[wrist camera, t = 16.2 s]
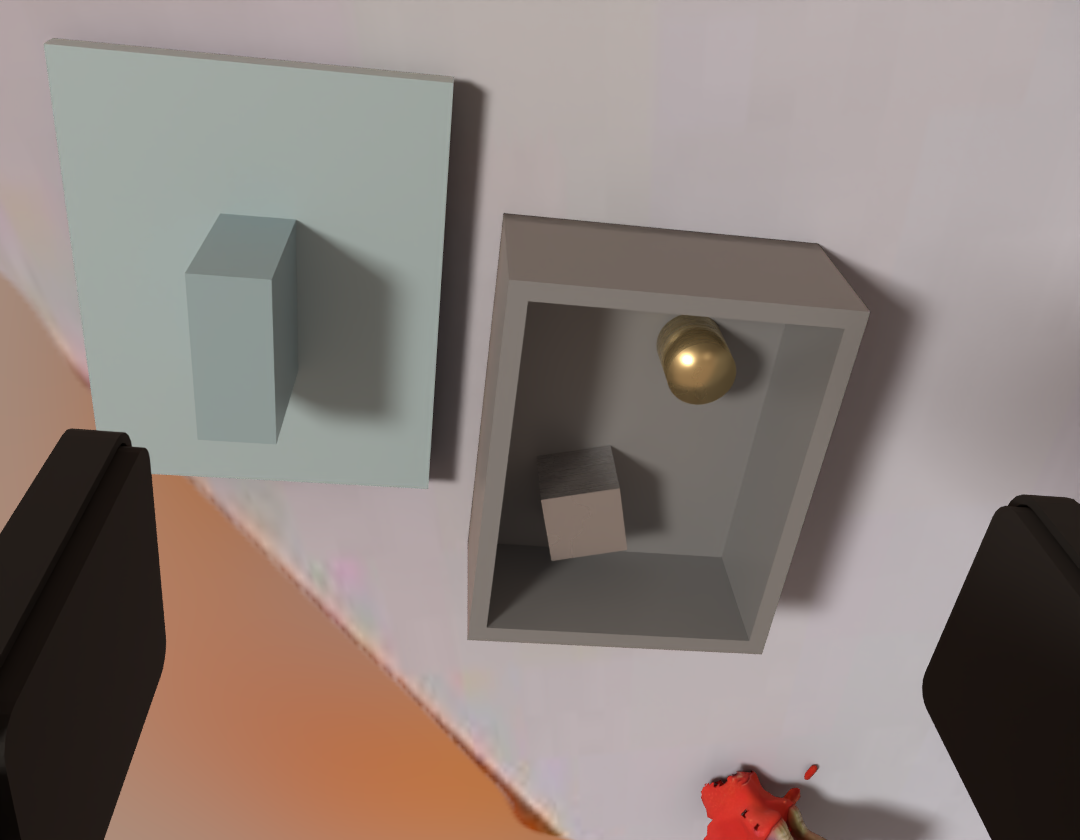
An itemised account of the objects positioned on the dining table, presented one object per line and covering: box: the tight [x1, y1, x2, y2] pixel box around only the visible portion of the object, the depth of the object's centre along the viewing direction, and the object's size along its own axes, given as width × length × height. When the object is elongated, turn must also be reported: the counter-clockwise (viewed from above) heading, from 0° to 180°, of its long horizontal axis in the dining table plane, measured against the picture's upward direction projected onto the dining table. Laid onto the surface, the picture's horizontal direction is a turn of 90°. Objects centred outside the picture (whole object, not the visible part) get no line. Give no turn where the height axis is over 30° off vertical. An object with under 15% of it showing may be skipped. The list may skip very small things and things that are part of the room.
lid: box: [44, 38, 454, 489], centre depth 42 cm, size 15×19×8 cm
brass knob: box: [656, 315, 736, 405], centre depth 46 cm, size 3×3×3 cm
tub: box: [467, 213, 870, 654], centre depth 46 cm, size 14×18×7 cm
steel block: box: [537, 445, 627, 561], centre depth 49 cm, size 4×4×4 cm
